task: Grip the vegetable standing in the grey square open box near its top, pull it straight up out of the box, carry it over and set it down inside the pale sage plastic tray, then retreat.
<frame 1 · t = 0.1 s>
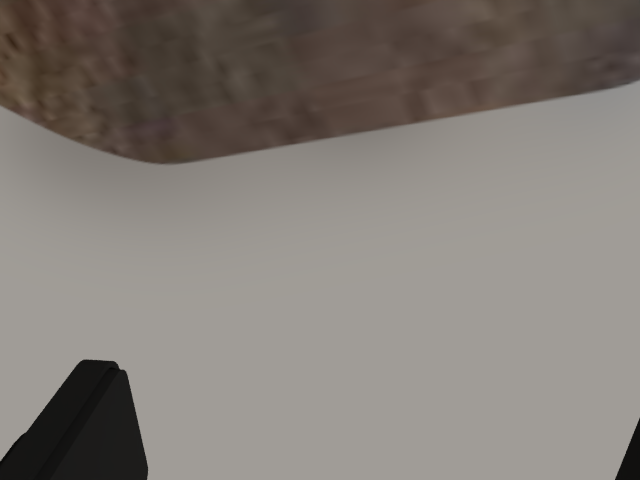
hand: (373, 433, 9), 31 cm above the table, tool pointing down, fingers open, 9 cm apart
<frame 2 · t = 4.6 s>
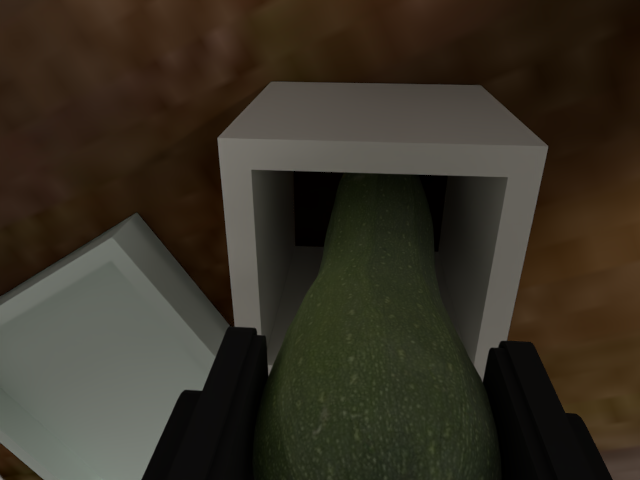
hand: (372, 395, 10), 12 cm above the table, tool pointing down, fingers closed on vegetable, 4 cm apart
tray: (161, 410, 28), on the table
vegetable: (369, 179, 21), resting in grey square open box, touching gripper
grey square open box: (369, 181, 21), on the table
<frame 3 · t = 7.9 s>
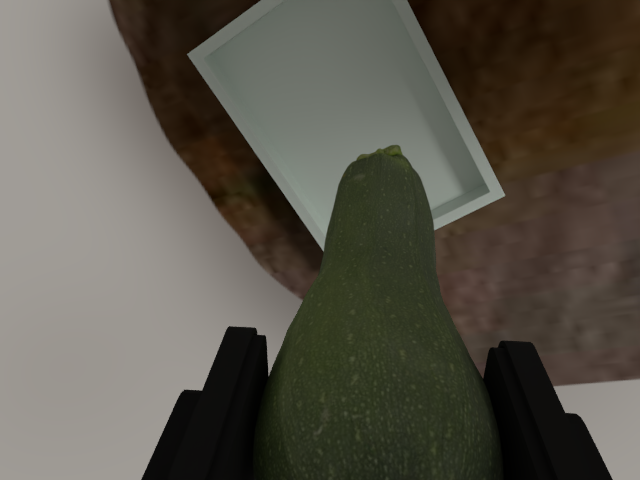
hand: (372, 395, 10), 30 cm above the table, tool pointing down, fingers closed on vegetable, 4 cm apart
tray: (353, 118, 37), on the table
vegetable: (369, 179, 21), point 17 cm above the table, touching gripper
when the fingers open (15 cm above the table, at t = 11.2 s): vegetable drops 2 cm, resting on tray.
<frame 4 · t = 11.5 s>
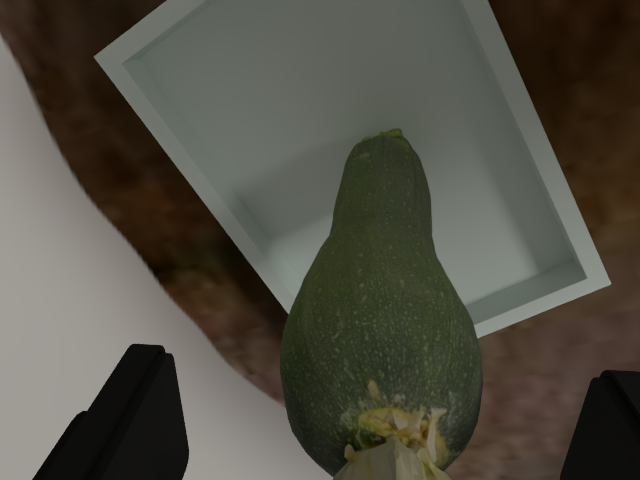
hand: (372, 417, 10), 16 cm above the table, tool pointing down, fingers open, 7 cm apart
tray: (368, 159, 24), on the table
vegetable: (372, 161, 23), point 1 cm above the table, touching tray
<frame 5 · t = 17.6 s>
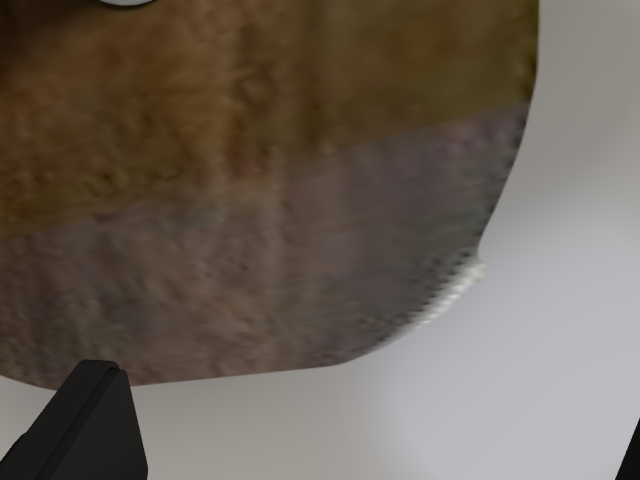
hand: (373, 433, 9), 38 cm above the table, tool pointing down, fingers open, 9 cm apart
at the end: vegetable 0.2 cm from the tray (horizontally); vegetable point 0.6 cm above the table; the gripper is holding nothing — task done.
